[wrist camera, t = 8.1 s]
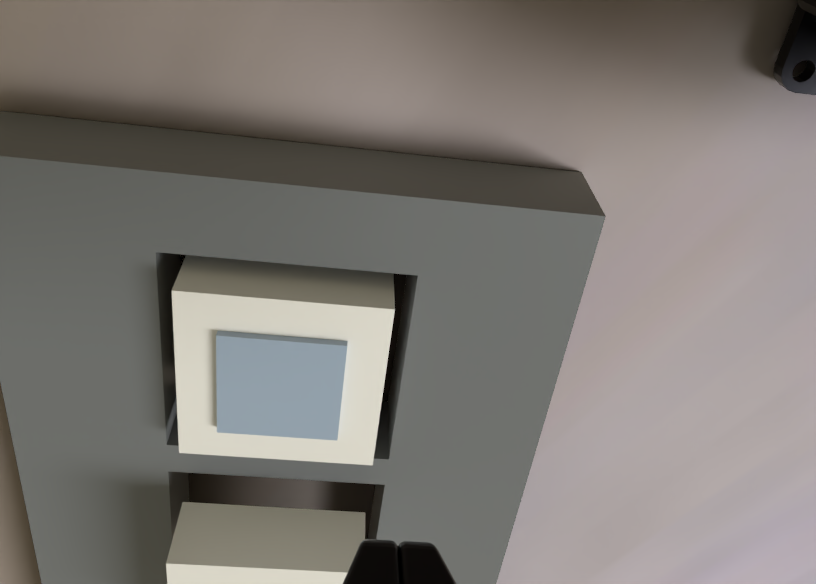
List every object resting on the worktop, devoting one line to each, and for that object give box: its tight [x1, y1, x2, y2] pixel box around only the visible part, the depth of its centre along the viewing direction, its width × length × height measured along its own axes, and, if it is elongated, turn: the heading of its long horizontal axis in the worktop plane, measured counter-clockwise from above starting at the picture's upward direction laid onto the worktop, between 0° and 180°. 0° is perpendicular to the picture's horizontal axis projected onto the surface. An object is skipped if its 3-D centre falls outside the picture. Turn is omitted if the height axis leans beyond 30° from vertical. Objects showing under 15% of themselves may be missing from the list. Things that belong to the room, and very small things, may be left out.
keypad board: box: [0, 111, 606, 584], centre depth 24 cm, size 14×24×2 cm, turn 173°
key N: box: [172, 255, 395, 465], centre depth 19 cm, size 5×5×2 cm
